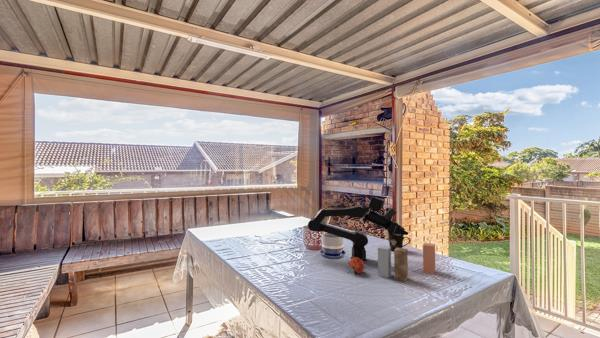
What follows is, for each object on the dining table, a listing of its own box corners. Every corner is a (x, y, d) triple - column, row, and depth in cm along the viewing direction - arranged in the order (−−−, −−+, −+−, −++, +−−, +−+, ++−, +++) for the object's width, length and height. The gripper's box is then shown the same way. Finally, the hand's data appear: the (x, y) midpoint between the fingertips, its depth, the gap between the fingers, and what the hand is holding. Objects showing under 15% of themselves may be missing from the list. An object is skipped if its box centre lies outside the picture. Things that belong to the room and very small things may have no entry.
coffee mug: (385, 249, 163) (384, 232, 163) (396, 247, 167) (396, 231, 167) (399, 255, 152) (399, 236, 153) (411, 252, 156) (411, 235, 156)
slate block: (378, 276, 123) (377, 247, 123) (381, 272, 127) (380, 245, 127) (388, 278, 121) (388, 249, 121) (391, 274, 124) (390, 246, 124)
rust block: (423, 272, 127) (422, 244, 127) (424, 269, 131) (424, 242, 131) (434, 274, 124) (433, 246, 124) (435, 271, 128) (435, 243, 128)
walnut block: (394, 279, 119) (394, 250, 119) (397, 275, 123) (396, 247, 123) (405, 281, 117) (405, 251, 117) (407, 277, 121) (407, 249, 121)
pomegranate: (353, 281, 123) (371, 267, 123) (342, 267, 124) (360, 253, 124) (351, 276, 130) (368, 263, 130) (341, 263, 131) (358, 250, 131)
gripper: (385, 207, 134) (416, 220, 132) (381, 202, 153) (408, 214, 150) (376, 228, 135) (407, 242, 132) (373, 221, 153) (400, 233, 151)
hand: (406, 231), depth 141 cm, fingers open, 9 cm apart
